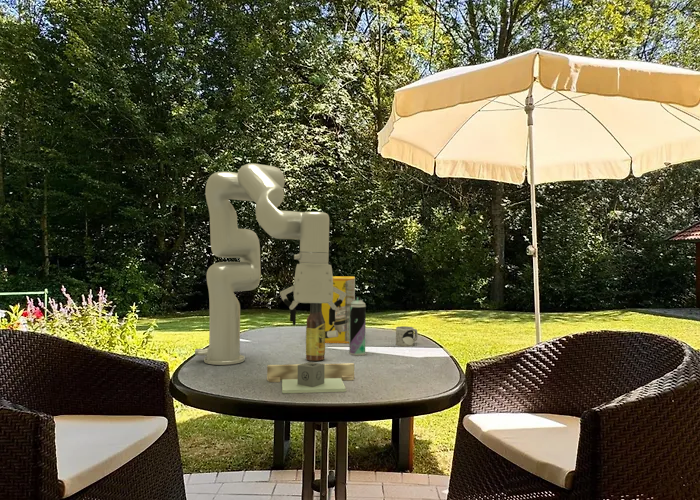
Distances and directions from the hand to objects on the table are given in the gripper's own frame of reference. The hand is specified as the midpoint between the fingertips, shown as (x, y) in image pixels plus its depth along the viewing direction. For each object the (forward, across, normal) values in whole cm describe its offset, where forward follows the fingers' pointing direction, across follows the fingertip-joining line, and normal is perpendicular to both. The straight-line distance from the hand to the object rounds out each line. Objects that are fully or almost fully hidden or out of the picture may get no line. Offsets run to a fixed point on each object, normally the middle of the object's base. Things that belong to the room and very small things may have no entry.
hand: (312, 324), depth 140 cm
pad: (+16, 0, -1) cm, 16 cm away
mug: (+17, +40, +59) cm, 73 cm away
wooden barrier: (+16, 0, +8) cm, 18 cm away
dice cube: (+16, 0, -1) cm, 16 cm away
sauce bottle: (+17, +4, +34) cm, 38 cm away
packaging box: (+18, +14, +72) cm, 75 cm away
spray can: (+17, +18, +42) cm, 49 cm away
